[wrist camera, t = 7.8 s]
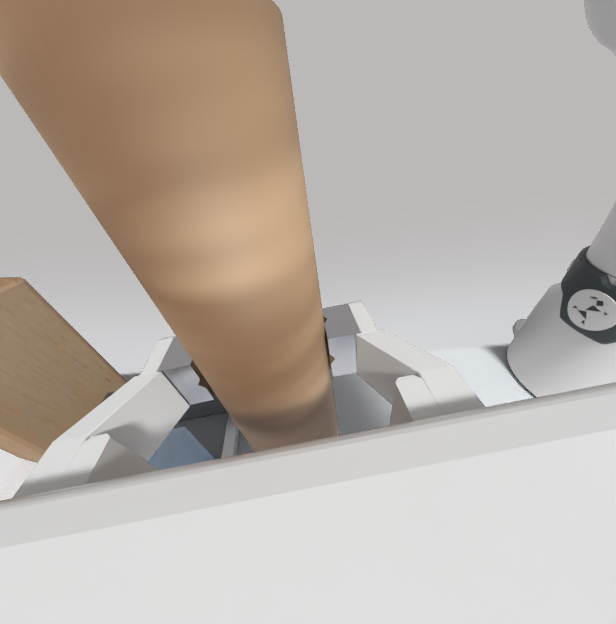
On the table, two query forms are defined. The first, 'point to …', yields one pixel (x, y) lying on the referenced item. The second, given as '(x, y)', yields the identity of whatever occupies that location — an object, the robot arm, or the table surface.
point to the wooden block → (44, 372)
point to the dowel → (191, 183)
